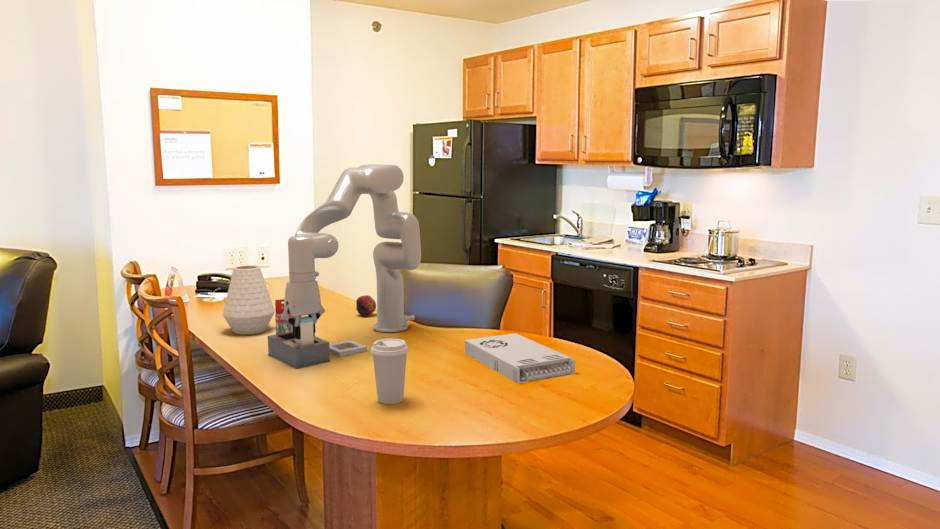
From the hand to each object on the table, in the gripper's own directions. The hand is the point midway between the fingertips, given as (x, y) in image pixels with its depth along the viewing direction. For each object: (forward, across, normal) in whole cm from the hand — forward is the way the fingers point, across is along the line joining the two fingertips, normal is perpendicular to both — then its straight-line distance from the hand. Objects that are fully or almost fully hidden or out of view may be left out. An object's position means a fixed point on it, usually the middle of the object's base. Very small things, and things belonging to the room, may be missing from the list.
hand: (304, 336), depth 199 cm
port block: (+8, 0, -5) cm, 9 cm away
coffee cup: (+8, -1, +44) cm, 45 cm away
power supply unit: (+8, -48, +43) cm, 65 cm away
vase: (+8, -2, -46) cm, 47 cm away
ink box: (+8, -6, -23) cm, 25 cm away
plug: (+3, 0, 0) cm, 3 cm away
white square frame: (+8, -15, -2) cm, 17 cm away
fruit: (+8, -46, -39) cm, 61 cm away
